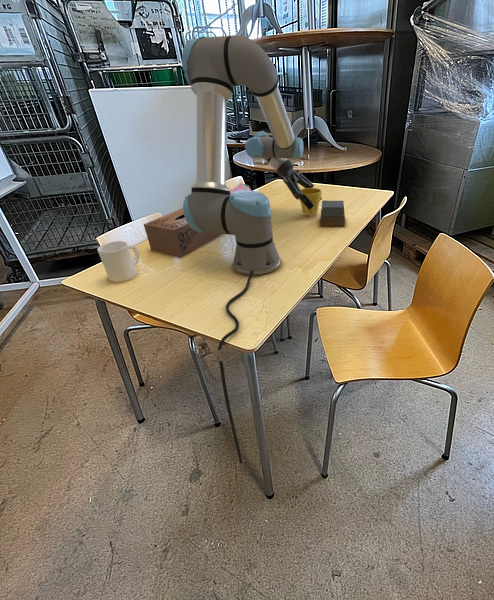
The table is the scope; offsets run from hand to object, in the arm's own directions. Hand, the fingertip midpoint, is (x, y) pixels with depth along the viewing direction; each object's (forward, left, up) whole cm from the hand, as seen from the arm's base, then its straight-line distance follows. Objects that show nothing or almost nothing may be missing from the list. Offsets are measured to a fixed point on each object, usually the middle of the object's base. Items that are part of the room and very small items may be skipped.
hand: (316, 204), depth 148 cm
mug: (-56, +59, -5) cm, 81 cm away
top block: (-9, -7, -1) cm, 12 cm away
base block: (-9, -7, -5) cm, 13 cm away
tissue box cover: (-29, +48, -5) cm, 56 cm away
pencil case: (+13, +40, -5) cm, 42 cm away
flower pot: (+1, +3, -4) cm, 5 cm away
